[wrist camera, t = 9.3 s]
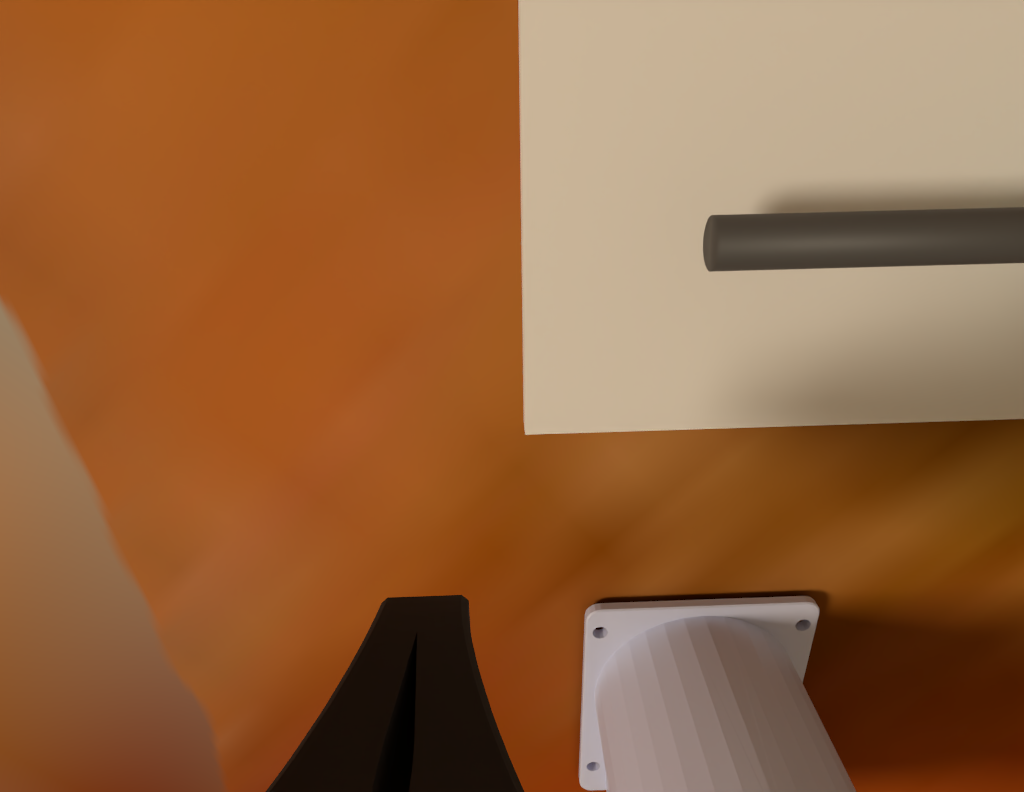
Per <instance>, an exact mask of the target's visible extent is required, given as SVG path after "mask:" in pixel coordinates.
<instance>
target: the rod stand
mask: <svg viewBox="0 0 1024 792" xmlns="http://www.w3.org/2000/svg"><path fill="white" fill-rule="evenodd" d="M518 15H519V92H520V169H521V246H522V323H523V400H524V429H525V435H529V434H560V433H592V432H624V431H656V430H688V429H719V428H751V427H783V426H815V425H846V424H878V423H910V422H942V421H973V420H1005V419H1024V0H518Z"/></svg>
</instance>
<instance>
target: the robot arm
mask: <svg viewBox="0 0 1024 792" xmlns="http://www.w3.org/2000/svg"><path fill="white" fill-rule="evenodd" d="M819 613H820V610H819V607H818V605H817V604H816V602H815V600H814V599H813V598H811V597H809V596H787V597H759V598H731V599H704V600H676V601H648V602H620V603H598V604H594V605H592V606H590V607H589V608H588V609H587V610H586V612H585V623H584V649H583V676H582V702H581V729H580V755H579V781H580V785H581V786H582V787H583V788H584V789H587V790H606V791H607V792H856V790H855V788H854V786H853V784H852V782H851V780H850V778H849V776H848V774H847V772H846V770H845V768H844V766H843V764H842V762H841V760H840V758H839V756H838V754H837V752H836V750H835V748H834V746H833V744H832V742H831V740H830V738H829V736H828V734H827V732H826V730H825V728H824V726H823V724H822V722H821V720H820V717H819V715H818V713H817V711H816V709H815V707H814V705H813V703H812V701H811V699H810V697H809V695H808V693H807V691H806V689H805V687H804V685H803V679H804V675H805V671H806V667H807V663H808V659H809V655H810V650H811V646H812V642H813V638H814V634H815V630H816V625H817V621H818V617H819ZM800 620H803V621H801V622H799V621H800ZM598 627H604V628H603V629H600V630H596V628H598ZM266 792H524V790H523V788H522V786H521V784H520V781H519V779H518V777H517V774H516V772H515V770H514V767H513V765H512V763H511V760H510V758H509V756H508V753H507V750H506V748H505V745H504V743H503V740H502V738H501V735H500V733H499V730H498V727H497V725H496V722H495V719H494V716H493V713H492V711H491V708H490V704H489V701H488V698H487V695H486V692H485V689H484V685H483V682H482V679H481V676H480V672H479V669H478V665H477V661H476V657H475V652H474V648H473V643H472V638H471V633H470V617H469V601H468V600H467V599H466V598H465V597H463V596H462V595H451V596H423V597H395V598H387V599H386V600H385V601H384V602H382V603H381V606H380V608H379V610H378V612H377V615H376V617H375V619H374V621H373V623H372V625H371V627H370V629H369V631H368V633H367V635H366V637H365V639H364V641H363V643H362V644H361V646H360V648H359V650H358V652H357V654H356V655H355V657H354V659H353V661H352V663H351V664H350V666H349V668H348V670H347V671H346V673H345V675H344V676H343V678H342V680H341V681H340V683H339V685H338V686H337V688H336V690H335V691H334V693H333V694H332V696H331V698H330V699H329V701H328V703H327V704H326V706H325V708H324V709H323V711H322V712H321V714H320V715H319V717H318V718H317V720H316V721H315V723H314V724H313V726H312V727H311V729H310V730H309V732H308V733H307V735H306V736H305V738H304V739H303V741H302V742H301V743H300V745H299V746H298V748H297V749H296V751H295V752H294V754H293V755H292V757H291V758H290V760H289V761H288V762H287V764H286V765H285V767H284V768H283V769H282V771H281V772H280V773H279V775H278V776H277V777H276V779H275V780H274V782H273V783H272V784H271V785H270V787H269V788H268V789H267V791H266Z"/></svg>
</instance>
